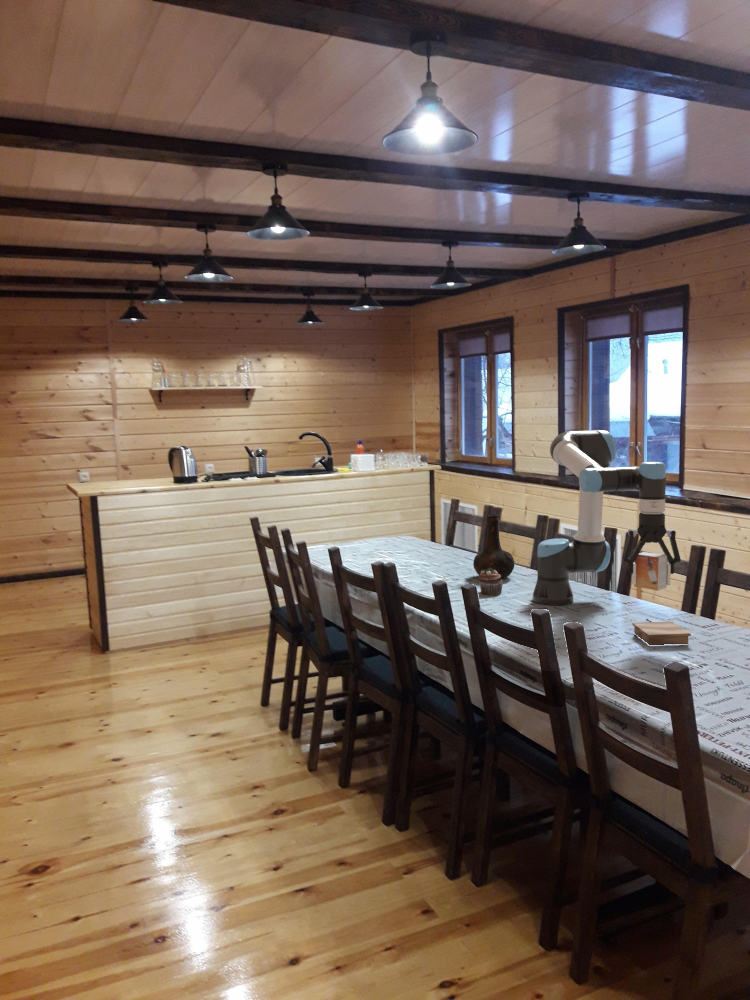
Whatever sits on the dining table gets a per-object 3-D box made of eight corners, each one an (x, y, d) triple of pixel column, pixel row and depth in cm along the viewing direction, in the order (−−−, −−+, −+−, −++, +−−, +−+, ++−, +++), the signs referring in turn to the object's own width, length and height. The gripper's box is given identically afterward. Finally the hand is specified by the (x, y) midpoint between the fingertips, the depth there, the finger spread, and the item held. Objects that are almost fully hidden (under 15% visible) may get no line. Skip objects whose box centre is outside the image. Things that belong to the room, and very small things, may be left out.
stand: (632, 634, 236) (632, 622, 236) (672, 633, 237) (672, 621, 236) (648, 647, 224) (648, 634, 223) (690, 646, 224) (690, 633, 223)
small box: (633, 587, 230) (634, 553, 229) (643, 584, 233) (643, 551, 232) (658, 591, 224) (658, 557, 223) (667, 588, 227) (668, 554, 226)
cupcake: (492, 597, 289) (492, 572, 288) (474, 592, 296) (473, 568, 295) (508, 592, 295) (508, 568, 294) (490, 588, 303) (489, 564, 301)
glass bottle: (502, 584, 309) (502, 518, 306) (465, 579, 320) (465, 515, 317) (521, 576, 323) (521, 513, 320) (485, 572, 334) (485, 511, 331)
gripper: (616, 514, 224) (615, 586, 227) (693, 513, 221) (691, 587, 223) (612, 511, 231) (611, 581, 234) (686, 510, 228) (685, 581, 230)
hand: (650, 583), depth 228 cm, fingers closed on small box, 9 cm apart
